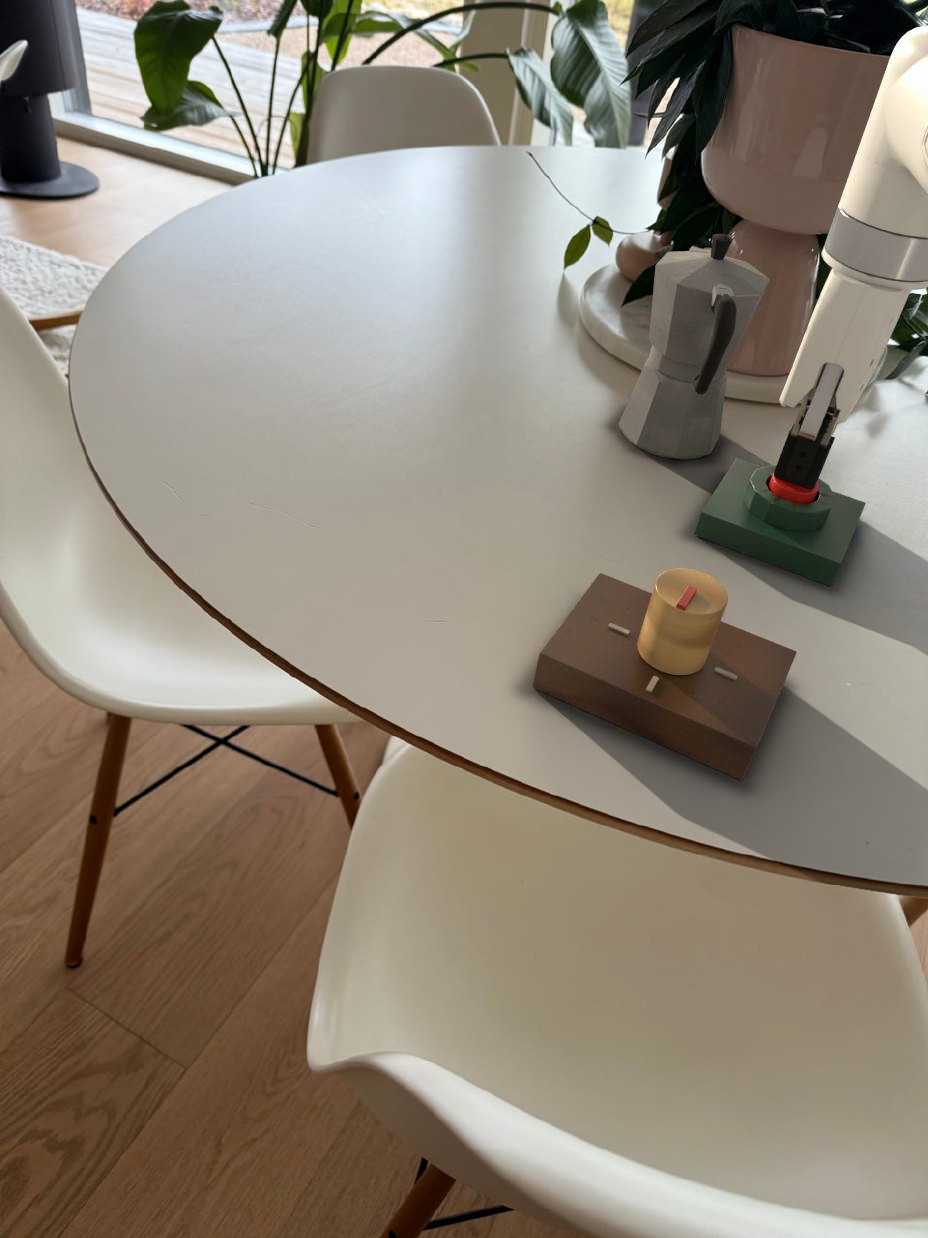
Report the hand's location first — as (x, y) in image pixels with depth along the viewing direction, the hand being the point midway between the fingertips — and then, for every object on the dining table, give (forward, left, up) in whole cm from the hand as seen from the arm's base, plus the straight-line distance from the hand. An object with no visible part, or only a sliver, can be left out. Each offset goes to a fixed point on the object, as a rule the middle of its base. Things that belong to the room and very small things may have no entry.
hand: (794, 478), depth 78 cm
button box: (0, 0, -5) cm, 5 cm away
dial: (+2, +23, -2) cm, 23 cm away
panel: (+2, +23, -5) cm, 24 cm away
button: (0, 0, -2) cm, 2 cm away
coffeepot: (+12, -8, -5) cm, 15 cm away
